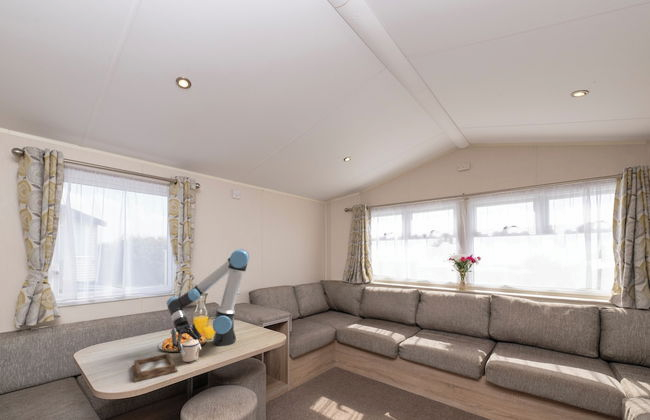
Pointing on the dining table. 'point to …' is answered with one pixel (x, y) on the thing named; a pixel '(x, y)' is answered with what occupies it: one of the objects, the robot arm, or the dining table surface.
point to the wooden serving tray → (153, 367)
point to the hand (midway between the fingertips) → (192, 352)
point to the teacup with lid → (190, 350)
